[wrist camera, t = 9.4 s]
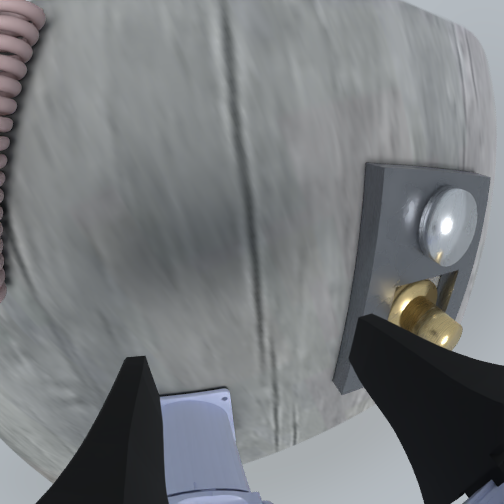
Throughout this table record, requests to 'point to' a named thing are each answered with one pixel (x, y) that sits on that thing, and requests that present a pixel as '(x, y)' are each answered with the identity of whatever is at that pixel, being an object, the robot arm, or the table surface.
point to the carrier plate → (412, 242)
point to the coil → (14, 75)
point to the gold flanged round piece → (424, 314)
